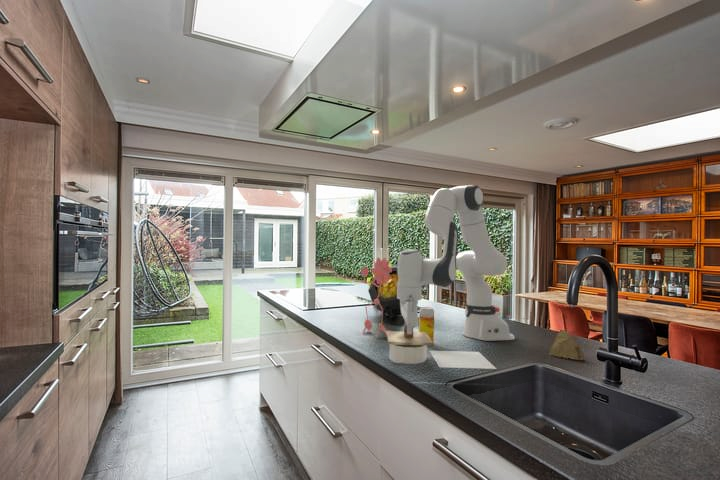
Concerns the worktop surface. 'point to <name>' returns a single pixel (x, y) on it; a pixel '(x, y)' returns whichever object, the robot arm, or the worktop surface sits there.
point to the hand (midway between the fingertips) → (408, 332)
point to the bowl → (408, 353)
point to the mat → (461, 359)
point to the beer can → (427, 321)
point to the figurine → (381, 276)
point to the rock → (566, 347)
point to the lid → (408, 338)
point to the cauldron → (387, 295)
